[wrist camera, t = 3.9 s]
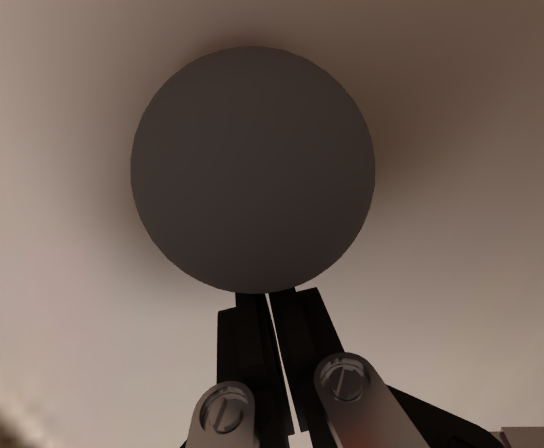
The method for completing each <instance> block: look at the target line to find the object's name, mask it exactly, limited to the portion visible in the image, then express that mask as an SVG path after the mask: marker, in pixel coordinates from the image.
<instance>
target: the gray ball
mask: <svg viewBox="0 0 544 448" xmlns="http://www.w3.org/2000/svg"><path fill="white" fill-rule="evenodd" d="M131 185H132V191H133V197H134V200H135V204H136V207H137V210H138V213H139V216H140V219H141V221H142V222H143V224H144V226H145V228H146V230H147V232H148V233H149V235H150V237H151V239H152V240H153V242H154V243H155V244H156V245H157V246H158V248H159V249H160V250H161V251H162V252H163V254H164V255H165V256H166V257H167V258H168V259H169V260H170V261H171V262H173V263H174V264H175V265H176V266H177V267H179V268H180V269H181V270H182V271H184V272H185V273H186V274H188V275H190V276H191V277H193V278H195V279H197V280H199V281H201V282H203V283H205V284H208V285H210V286H213V287H215V288H218V289H222V290H226V291H230V292H237V293H246V294H264V293H271V292H278V291H282V290H286V289H290V288H293V287H295V286H298V285H300V284H303V283H305V282H307V281H309V280H311V279H313V278H315V277H316V276H318V275H319V274H321V273H322V272H323V271H325V270H326V269H328V268H329V267H330V266H331V265H333V264H334V263H335V262H336V261H337V260H338V259H339V258H340V257H341V256H342V255H343V254H344V253H345V252H346V250H347V249H348V248H349V247H350V245H351V244H352V243H353V241H354V240H355V238H356V237H357V235H358V233H359V232H360V230H361V228H362V226H363V223H364V221H365V219H366V216H367V214H368V211H369V209H370V205H371V200H372V195H373V190H374V185H375V158H374V152H373V146H372V141H371V137H370V134H369V131H368V128H367V125H366V123H365V121H364V119H363V116H362V115H361V113H360V111H359V109H358V107H357V105H356V103H355V102H354V101H353V100H352V98H351V97H350V96H349V94H348V93H347V92H346V91H345V89H344V88H343V87H342V85H340V84H339V83H338V82H337V81H336V80H335V79H334V78H333V77H332V76H330V75H329V74H328V73H327V72H326V71H325V70H323V69H321V68H320V67H318V66H317V65H315V64H313V63H312V62H310V61H309V60H307V59H305V58H302V57H300V56H297V55H295V54H292V53H289V52H287V51H283V50H279V49H273V48H267V47H257V46H247V47H237V48H231V49H226V50H222V51H218V52H214V53H211V54H209V55H206V56H204V57H201V58H199V59H197V60H195V61H193V62H191V63H190V64H188V65H187V66H185V67H184V68H183V69H181V70H180V71H178V72H177V73H176V74H175V75H173V76H172V77H171V78H170V79H169V80H168V81H167V82H166V83H165V84H164V85H163V86H162V87H161V88H160V90H159V91H158V92H157V93H156V94H155V96H154V97H153V98H152V100H151V102H150V103H149V105H148V107H147V108H146V110H145V112H144V114H143V115H142V118H141V120H140V123H139V126H138V129H137V131H136V134H135V137H134V143H133V148H132V154H131Z"/></svg>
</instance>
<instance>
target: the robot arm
mask: <svg viewBox="0 0 544 448" xmlns="http://www.w3.org/2000/svg"><path fill="white" fill-rule="evenodd" d="M268 294H269V299H270V304H271V308H272V313H273V318H274V323H275V328H276V333H277V338H278V343H279V348H280V352H281V357H282V361H283V365H284V369H285V373H286V377H287V380H288V384H289V388H290V392H291V396H292V400H293V404H294V407H295V411H296V415H297V419H298V423H299V427H300V430H301V432H304V431H308V430H309V433H310V437H311V441H312V446H313V448H544V427H501V431H500V432H488V431H486V430H485V429H483V428H481V427H480V426H478V425H476V424H473V423H471V422H469V421H467V420H465V419H462V418H460V417H458V416H456V415H453V414H451V413H449V412H447V411H444V410H442V409H440V408H438V407H435V406H433V405H431V404H429V403H426V402H424V401H422V400H420V399H418V398H415V397H413V396H411V395H409V394H406V393H404V392H402V391H400V390H397V389H395V388H393V387H391V386H388V385H386V384H385V383H384V382H383V380H382V379H381V377H380V376H379V375H378V373H377V372H376V370H375V369H374V367H373V366H372V365H371V364H370V363H369V362H368V361H367V360H366V359H364V358H363V357H361V356H359V355H356V354H353V353H349V352H344V349H343V347H342V345H341V342H340V340H339V338H338V335H337V333H336V330H335V328H334V326H333V323H332V321H331V319H330V316H329V314H328V312H327V309H326V307H325V305H324V302H323V300H322V298H321V295H320V293H319V291H318V289H317V287H315V288H311V289H307V290H302V291H298V292H296V290H295V287H293V288H290V289H286V290H282V291H278V292H271V293H268ZM235 298H236V307H234V308H230V309H226V310H222V311H219V312H218V326H217V385H215V386H213V387H211V388H210V389H209V390H207V391H206V392H205V393H204V394H203V395H202V396H201V398H200V399H199V401H198V402H197V404H196V407H195V409H194V412H193V416H192V420H191V424H190V429H189V433H188V438H187V440H186V441H185V442H184V444H183V445H182V446H181V447H180V448H290V447H289V441H288V436H289V435H293V434H295V432H294V427H293V422H292V417H291V411H290V406H289V401H288V396H287V391H286V386H285V381H284V376H283V371H282V366H281V361H280V356H279V351H278V346H277V341H276V336H275V331H274V327H273V323H272V319H271V315H270V311H269V307H268V304H267V300H266V296H265V293H264V294H246V293H237V292H235Z"/></svg>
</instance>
